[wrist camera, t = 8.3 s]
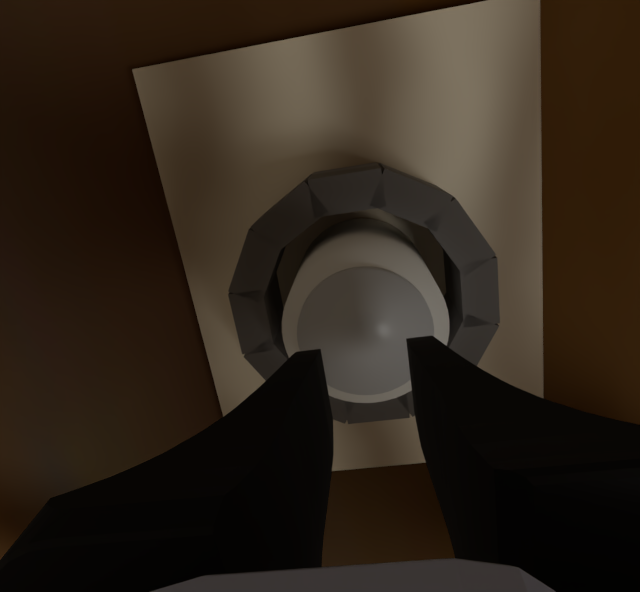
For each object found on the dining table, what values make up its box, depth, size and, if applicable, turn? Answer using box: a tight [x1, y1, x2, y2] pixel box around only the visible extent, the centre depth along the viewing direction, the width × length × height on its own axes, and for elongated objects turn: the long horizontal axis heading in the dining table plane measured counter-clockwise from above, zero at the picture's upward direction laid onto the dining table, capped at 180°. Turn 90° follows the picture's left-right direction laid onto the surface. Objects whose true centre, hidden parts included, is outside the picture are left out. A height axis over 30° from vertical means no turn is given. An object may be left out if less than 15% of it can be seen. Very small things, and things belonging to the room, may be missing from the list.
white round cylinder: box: [282, 218, 449, 403], centre depth 16 cm, size 5×5×5 cm
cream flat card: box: [132, 0, 543, 471], centre depth 18 cm, size 14×18×4 cm
